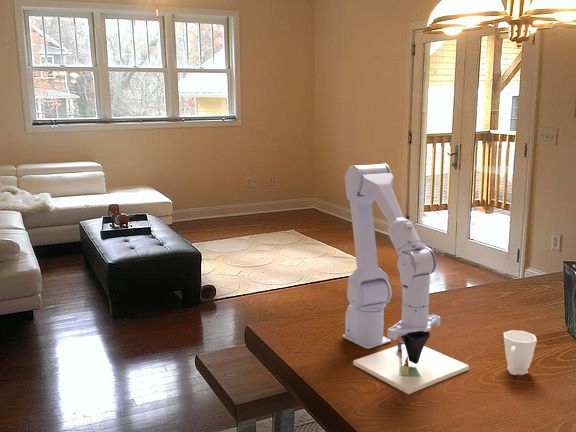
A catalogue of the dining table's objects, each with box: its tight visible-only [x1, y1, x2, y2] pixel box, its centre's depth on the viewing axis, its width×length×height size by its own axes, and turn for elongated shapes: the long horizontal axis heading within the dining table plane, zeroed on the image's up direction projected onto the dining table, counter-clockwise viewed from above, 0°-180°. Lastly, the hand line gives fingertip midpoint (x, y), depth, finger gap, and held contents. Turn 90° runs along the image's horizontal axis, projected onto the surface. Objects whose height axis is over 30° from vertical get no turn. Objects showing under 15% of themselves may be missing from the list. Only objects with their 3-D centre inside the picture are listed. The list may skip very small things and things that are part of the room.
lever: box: [397, 339, 409, 375], centre depth 131 cm, size 14×3×2 cm, turn 170°
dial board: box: [352, 345, 470, 395], centre depth 130 cm, size 17×19×1 cm
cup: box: [503, 329, 538, 376], centre depth 126 cm, size 7×10×8 cm
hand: (413, 361), depth 128 cm, fingers closed
